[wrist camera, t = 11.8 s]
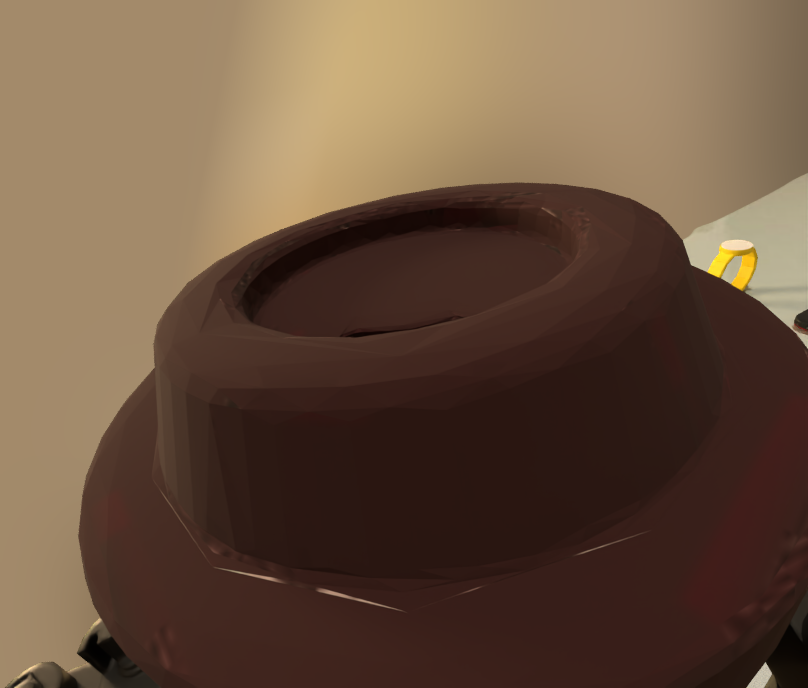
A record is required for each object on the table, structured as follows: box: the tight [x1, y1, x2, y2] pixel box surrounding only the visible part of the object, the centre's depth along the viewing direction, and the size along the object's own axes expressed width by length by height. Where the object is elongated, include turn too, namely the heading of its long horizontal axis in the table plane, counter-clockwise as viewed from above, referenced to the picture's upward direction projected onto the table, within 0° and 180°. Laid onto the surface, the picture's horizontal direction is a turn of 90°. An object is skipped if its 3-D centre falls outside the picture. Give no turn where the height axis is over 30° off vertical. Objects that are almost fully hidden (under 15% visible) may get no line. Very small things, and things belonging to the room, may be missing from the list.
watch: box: [708, 240, 758, 291], centre depth 46 cm, size 6×3×6 cm, turn 115°
